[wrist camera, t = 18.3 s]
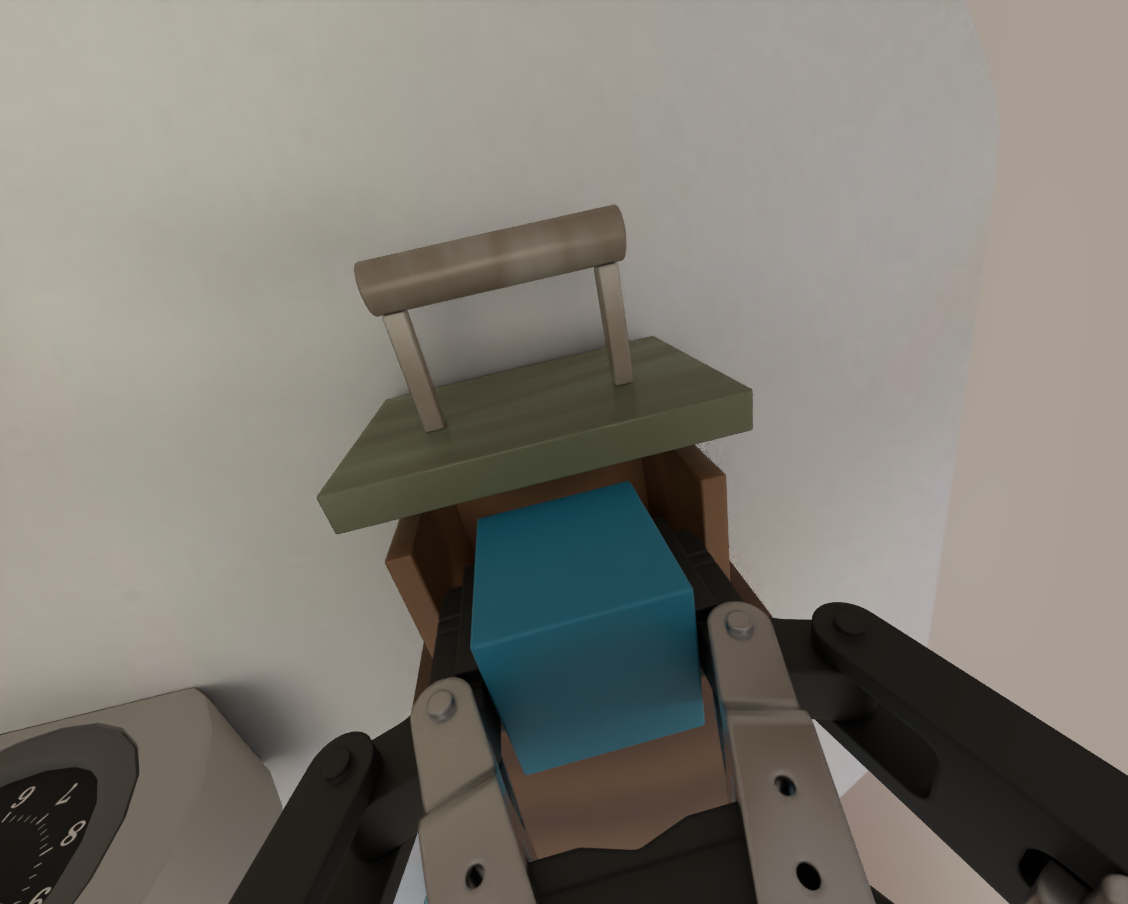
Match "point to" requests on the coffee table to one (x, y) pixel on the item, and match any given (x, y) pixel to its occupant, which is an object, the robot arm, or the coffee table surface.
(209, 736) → the alarm clock
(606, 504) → the blue block
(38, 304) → the coffee table surface
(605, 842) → the cabinet
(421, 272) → the drawer
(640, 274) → the coffee table surface
